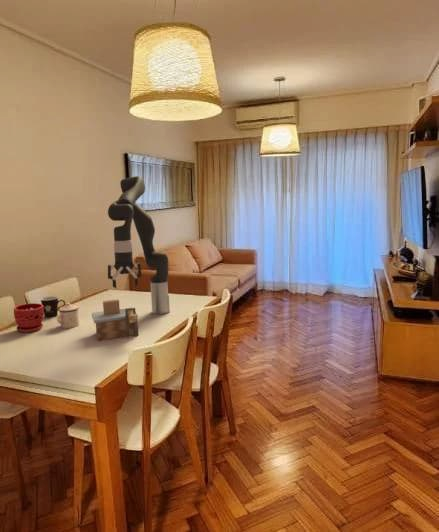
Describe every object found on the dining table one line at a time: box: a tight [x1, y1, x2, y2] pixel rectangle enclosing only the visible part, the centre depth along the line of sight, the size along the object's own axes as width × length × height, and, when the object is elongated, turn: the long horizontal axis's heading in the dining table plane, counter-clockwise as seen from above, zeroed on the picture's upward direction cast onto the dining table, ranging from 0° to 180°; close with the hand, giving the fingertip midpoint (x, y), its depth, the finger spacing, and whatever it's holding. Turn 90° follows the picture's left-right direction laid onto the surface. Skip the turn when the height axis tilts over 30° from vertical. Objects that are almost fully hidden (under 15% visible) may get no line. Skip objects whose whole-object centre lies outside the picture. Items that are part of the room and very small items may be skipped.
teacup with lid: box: [56, 302, 80, 329], centre depth 194 cm, size 12×9×12 cm
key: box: [128, 310, 138, 323], centre depth 173 cm, size 3×13×3 cm, turn 19°
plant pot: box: [13, 302, 44, 333], centre depth 190 cm, size 13×13×12 cm
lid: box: [91, 299, 139, 325], centre depth 181 cm, size 19×13×7 cm
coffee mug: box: [40, 295, 66, 319], centre depth 212 cm, size 12×9×10 cm
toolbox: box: [95, 307, 139, 342], centre depth 180 cm, size 18×13×13 cm
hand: (125, 287), depth 171 cm, fingers open, 8 cm apart
